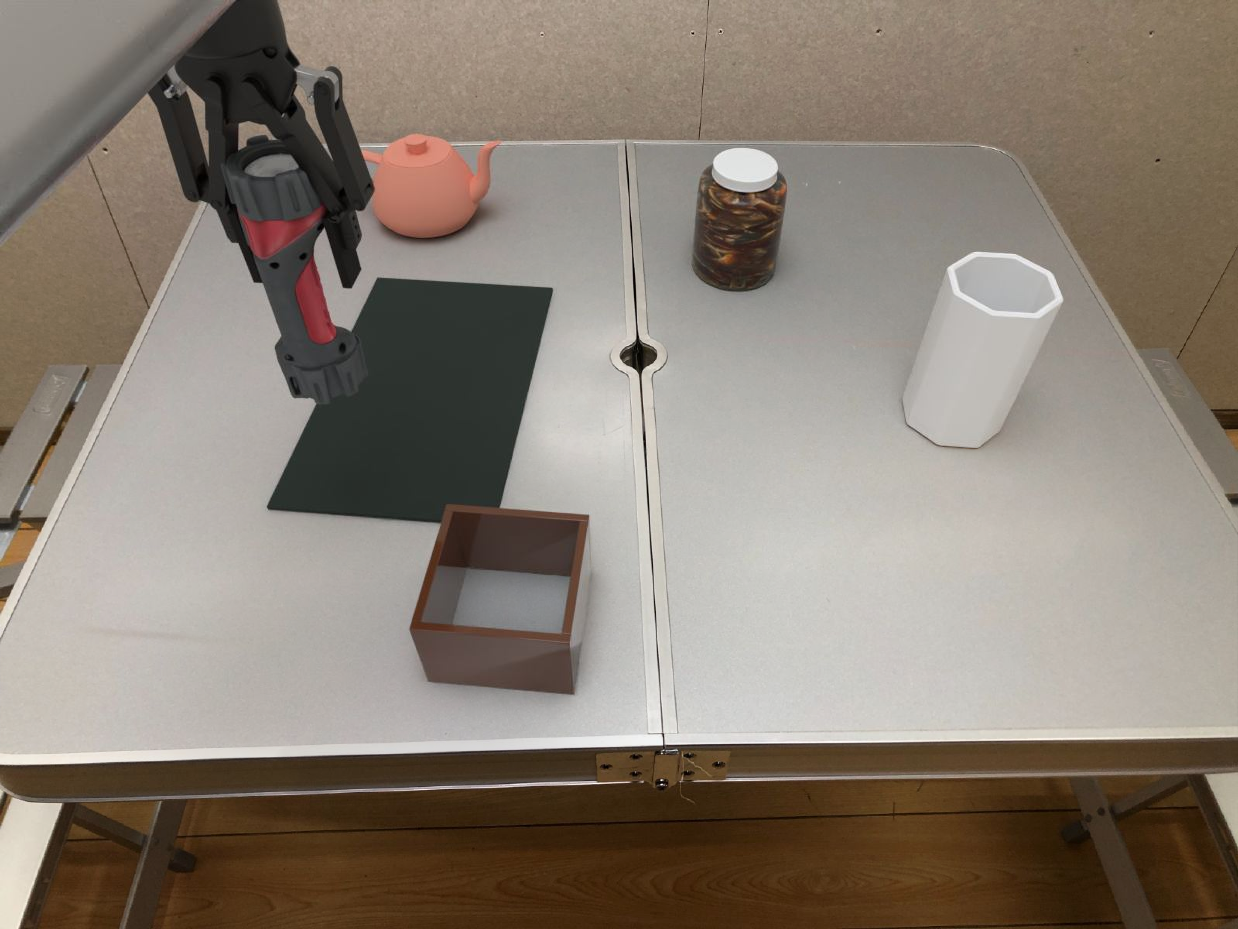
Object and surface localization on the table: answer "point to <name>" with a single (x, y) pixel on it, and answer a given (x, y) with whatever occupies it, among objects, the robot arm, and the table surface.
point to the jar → (739, 220)
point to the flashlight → (292, 269)
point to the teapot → (427, 186)
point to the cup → (979, 347)
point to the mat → (422, 404)
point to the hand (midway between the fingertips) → (308, 275)
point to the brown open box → (505, 547)
